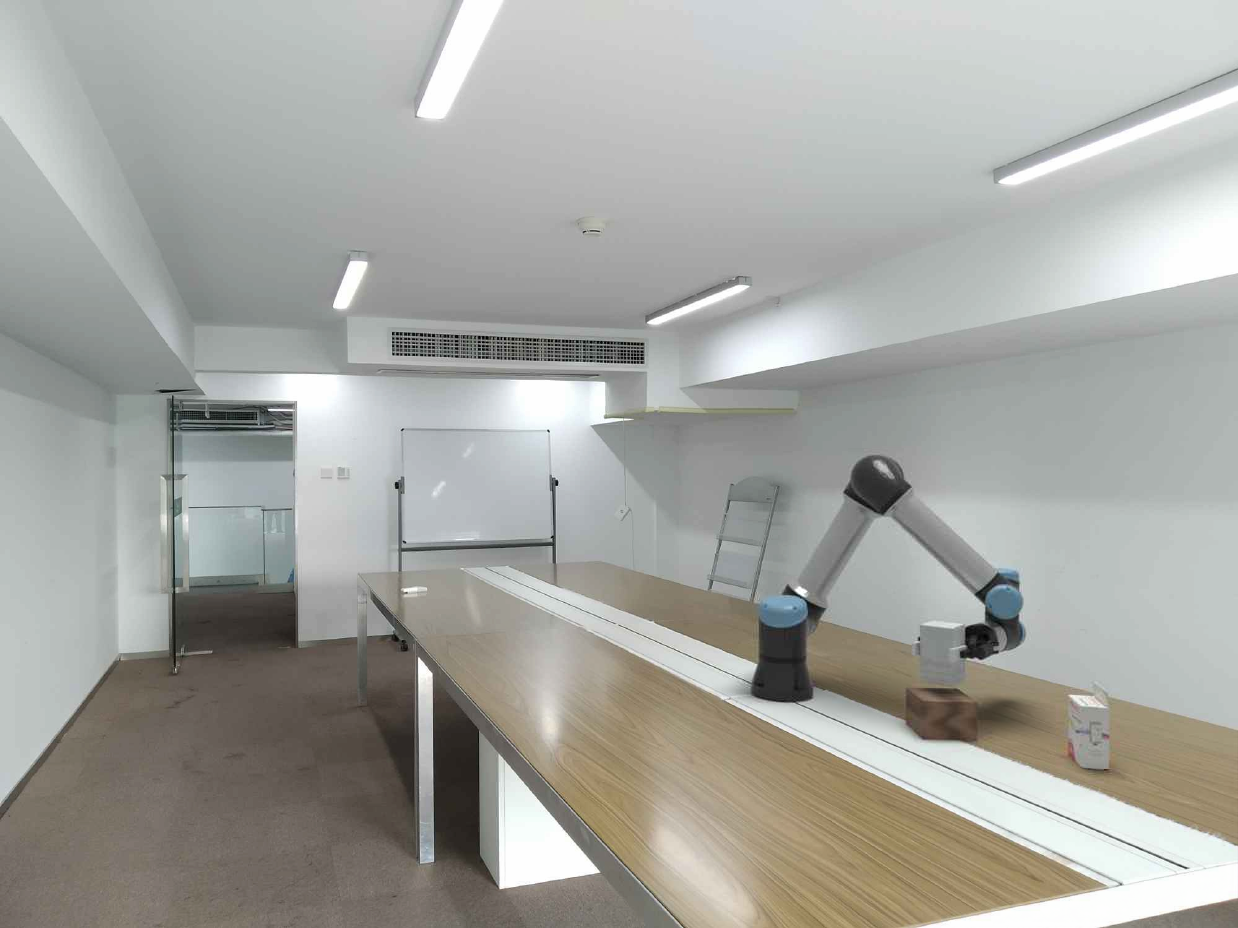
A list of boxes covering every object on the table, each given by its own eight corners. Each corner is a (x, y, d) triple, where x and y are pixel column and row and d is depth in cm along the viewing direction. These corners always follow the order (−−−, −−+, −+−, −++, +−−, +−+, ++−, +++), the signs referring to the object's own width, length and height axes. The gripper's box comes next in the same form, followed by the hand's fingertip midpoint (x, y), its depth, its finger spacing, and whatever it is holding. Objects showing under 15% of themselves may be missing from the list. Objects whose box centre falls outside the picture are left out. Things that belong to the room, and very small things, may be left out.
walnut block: (922, 739, 173) (923, 701, 173) (905, 724, 184) (906, 687, 184) (976, 741, 173) (977, 702, 173) (956, 724, 184) (956, 688, 184)
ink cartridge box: (1066, 753, 165) (1066, 678, 166) (1094, 755, 164) (1094, 680, 165) (1081, 768, 157) (1081, 689, 157) (1110, 770, 156) (1110, 691, 156)
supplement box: (966, 682, 183) (966, 623, 183) (952, 688, 178) (953, 628, 178) (933, 676, 188) (933, 619, 188) (918, 681, 183) (919, 623, 183)
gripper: (1027, 663, 187) (978, 679, 172) (940, 648, 202) (888, 661, 188) (1027, 629, 187) (978, 642, 172) (940, 617, 202) (888, 627, 188)
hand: (931, 652), depth 180 cm, fingers closed on supplement box, 8 cm apart
